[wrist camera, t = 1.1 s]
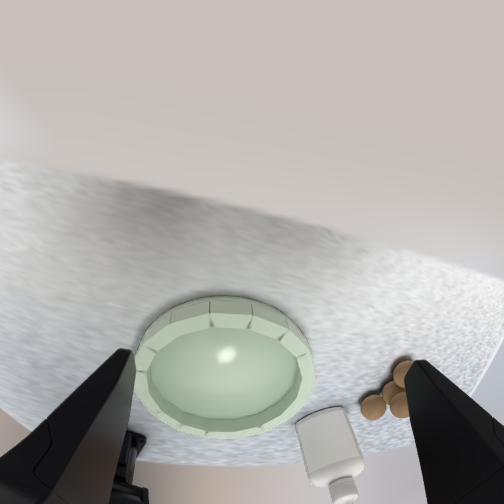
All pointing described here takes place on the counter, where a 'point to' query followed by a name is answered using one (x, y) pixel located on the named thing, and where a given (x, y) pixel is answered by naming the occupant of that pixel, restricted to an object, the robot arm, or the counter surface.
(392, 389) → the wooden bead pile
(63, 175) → the counter surface
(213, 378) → the sage dish
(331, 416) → the eye dropper bottle
